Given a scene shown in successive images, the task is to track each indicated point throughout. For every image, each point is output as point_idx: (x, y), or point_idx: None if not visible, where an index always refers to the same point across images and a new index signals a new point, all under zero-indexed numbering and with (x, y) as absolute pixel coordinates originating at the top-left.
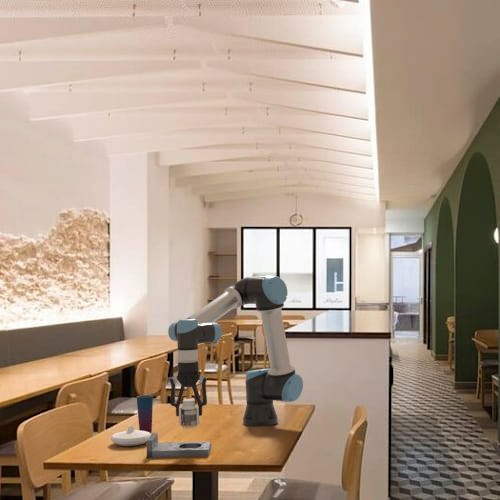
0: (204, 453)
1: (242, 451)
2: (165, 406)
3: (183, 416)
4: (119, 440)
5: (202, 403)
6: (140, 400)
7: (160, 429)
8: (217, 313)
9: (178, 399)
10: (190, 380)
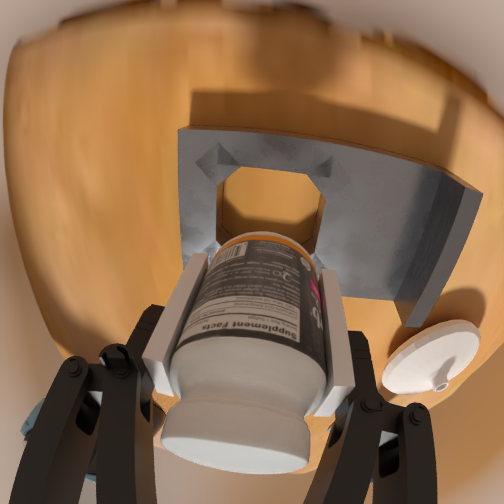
0: (201, 127)
1: (84, 192)
2: (297, 470)
3: (309, 302)
4: (476, 328)
5: (99, 384)
6: None
7: (329, 422)
8: None
9: (362, 470)
10: None
